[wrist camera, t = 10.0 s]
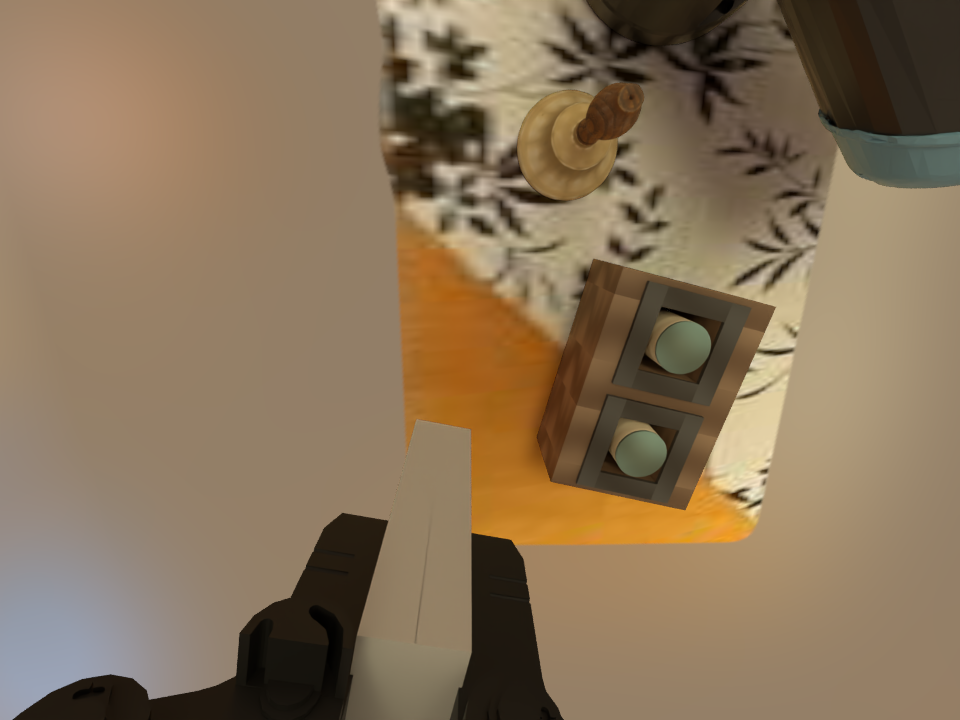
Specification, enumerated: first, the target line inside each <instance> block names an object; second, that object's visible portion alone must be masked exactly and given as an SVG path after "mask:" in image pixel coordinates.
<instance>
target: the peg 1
mask: <svg viewBox="0 0 960 720" xmlns="http://www.w3.org/2000/svg"><path fill="white" fill-rule="evenodd" d="M608 450H609V451H610V453H611V455H612V456H613V458H614V460H615V461H616V463H617V464H618V466H619V468H620V469H621V470H622V471H623V472H624V473H626V474H627V475H630V476H633V477H644V476H648V475H650V474H652V473H654V472H656V471H657V470H658V469H659V468H660V467H661V466H662V465H663V463H664V461H665V459H666V455H667V449H666V445H665V443H664V441H663V440H662V439H661V438H660V436H659V435H658V434H657V433H656V432H655V431H654V430H653V429H652V428H651V426H650V425H649V424H648V423H643V422H639V421H635V420H630V419H626V418H622V417H620V419H619V422H618V425H617V428H616V430H615V433H614V436H613V438H612V441H611V444H610V446H609V449H608Z"/></svg>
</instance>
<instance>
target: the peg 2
mask: <svg viewBox="0 0 960 720" xmlns="http://www.w3.org/2000/svg"><path fill="white" fill-rule="evenodd" d="M710 349H711V340H710V336H709V334H708V332H707V331H706V329H705V328H704V327H702V326H701V325H699V324H697V323H695V322H692V321H690V320H688V319H686V318H683V317H681V316H679V315H676V314H674V313H672V312H669V311H667V310H665V309H662V308H661V309H660V312H659V315H658V317H657V320H656V323H655V325H654V328H653V331H652V334H651V336H650V339H649V342H648V344H647V347H646V350H645V352H644V354H645V355H646V356H648V357H649V358H651V359H652V360H653V361H655V362H656V363H657V364H659V365H660V366H661V367H663V368H664V369H666V370H667V371H669V372H671V373H674V374H686V373H690V372H692V371H694V370H696V369H698V368H699V367H700V366H701V365H702V364H703V363H704V362H705V361H706V359H707V357H708V355H709V353H710Z"/></svg>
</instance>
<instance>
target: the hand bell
mask: <svg viewBox="0 0 960 720" xmlns="http://www.w3.org/2000/svg"><path fill="white" fill-rule="evenodd" d="M643 101H644V94H643V91H642V89H641V87H640V86H639V85H637V84H633V83H630V84H628V83H614V84H611V85H609V86H607V87H605V88H604V89H603V90H601V91H600V92H599V93H598V94H597V95H596V96H595V97H593V96H592V95H589V94H587V93H585V92H581V91H577V90H563V91H559V92H555V93H553V94H550V95H548V96H546V97H545V98H543V99H542V100H540V101H539V102H538V103H537V104H536V105H535V106H534V107H533V108H532V109H531V110H530V111H529V113H528V114H527V116H526V117H525V119H524V121H523V123H522V126H521V129H520V132H519V135H518V143H517V155H518V161H519V165H520V168H521V171H522V173H523V175H524V177H525V178H526V180H527V181H528V183H529V184H530V185H531V186H532V187H533V188H534V189H535V190H536V191H537V192H539V193H540V194H542V195H543V196H545V197H548V198H551V199H555V200H561V201H567V200H575V199H578V198H581V197H584V196H586V195H588V194H589V193H591V192H593V191H594V190H595V189H596V188H597V187H599V186H600V185H601V184H602V183H603V181H604V180H605V179H606V177H607V176H608V174H609V173H610V171H611V169H612V167H613V164H614V162H615V158H616V153H617V145H618V140H617V137H620V136H621V135H623V134H624V133H626V132H627V131H628V130H629V129H631V127H632V126H633V125H634V124H635V122H636V121H637V119H638V117H639V114H640V111H641V105H642V103H643Z"/></svg>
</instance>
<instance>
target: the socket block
mask: <svg viewBox="0 0 960 720" xmlns="http://www.w3.org/2000/svg"><path fill="white" fill-rule="evenodd" d="M661 307H666V308H670V309H672V311H671V312H672V313H674V314H676V315H679V316H681V317H683V318H686V319H688V320H690V321H692V322H695V323H697V324H699V325H701V326H702V327H704V328H705V329H706V331H707V332H708V334H709V336H710V340H711V349H710V353H709V355H708V357H707V359H706V361H705V362H704V363H703V364H702V365H701V366H700V367H699V368H698V369H696V370H694V371H692V372H690V373H686V374H674V373H671V372H669V371H667V370H666V369H664V368H663V367H661V366H660V365H659V364H657V363H656V362H655V361H653V360H652V359H651V358H649V357H648V356H646V355H645V354H644V352H645V350H646V347H647V344H648V342H649V339H650V336H651V334H652V331H653V328H654V325H655V323H656V320H657V317H658V315H659V312H660V309H661ZM775 308H776V307H774V306H771V305H767V304H763V303H759V302H756V301H752V300H748V299H744V298H741V297H737V296H733V295H729V294H726V293H722V292H718V291H714V290H711V289H707V288H703V287H699V286H695V285H692V284H688V283H684V282H680V281H676V280H673V279H669V278H665V277H661V276H658V275H654V274H650V273H646V272H642V271H639V270H635V269H631V268H627V267H623V266H620V265H616V264H612V263H608V262H604V261H601V260H597V259H593V262H592V265H591V269H590V272H589V275H588V278H587V281H586V284H585V287H584V291H583V294H582V297H581V300H580V303H579V306H578V309H577V313H576V316H575V319H574V322H573V325H572V328H571V331H570V335H569V338H568V341H567V344H566V347H565V350H564V353H563V356H562V360H561V363H560V366H559V369H558V372H557V375H556V378H555V382H554V385H553V388H552V391H551V394H550V397H549V400H548V404H547V407H546V410H545V413H544V416H543V419H542V422H541V426H540V429H539V432H538V435H537V440H538V443H539V446H540V449H541V452H542V456H543V459H544V462H545V465H546V468H547V471H548V474H549V478H550V481H551V482H555V483H559V484H564V485H569V486H573V487H578V488H583V489H588V490H592V491H597V492H602V493H606V494H611V495H616V496H621V497H625V498H630V499H635V500H639V501H644V502H649V503H653V504H658V505H663V506H668V507H672V508H677V509H682V510H686V507H687V505H688V503H689V501H690V498H691V496H692V494H693V492H694V489H695V487H696V485H697V483H698V481H699V478H700V476H701V474H702V472H703V469H704V467H705V465H706V463H707V460H708V458H709V456H710V454H711V451H712V449H713V447H714V445H715V442H716V440H717V438H718V436H719V433H720V431H721V429H722V427H723V425H724V422H725V420H726V418H727V416H728V413H729V411H730V409H731V407H732V404H733V402H734V400H735V398H736V395H737V393H738V391H739V389H740V386H741V384H742V382H743V380H744V377H745V375H746V373H747V371H748V369H749V366H750V364H751V362H752V360H753V357H754V355H755V353H756V351H757V348H758V346H759V344H760V342H761V339H762V337H763V335H764V333H765V330H766V328H767V326H768V324H769V321H770V319H771V317H772V315H773V313H774V310H775ZM620 417H622V418H626V419H630V420H635V421H639V422H643V423H648V424H649V425H650V426H651V428H652V429H653V430H654V431H655V432H656V433H657V434H658V435H659V436H660V438H661V439H662V440H663V441H664V443H665V445H666V449H667V455H666V459H665V461H664V463H663V465H662V466H661V467H660V468H659V469H658V470H657V471H656V472H654V473H652V474H650V475H648V476H644V477H633V476H630V475H627V474H626V473H624V472H623V471H622V470H621V469H620V468H619V466H618V464H617V463H616V461H615V460H614V458H613V456H612V455H611V453H610V451H609V450H608V449H609V446H610V444H611V441H612V438H613V436H614V433H615V430H616V428H617V425H618V422H619V419H620Z"/></svg>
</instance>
